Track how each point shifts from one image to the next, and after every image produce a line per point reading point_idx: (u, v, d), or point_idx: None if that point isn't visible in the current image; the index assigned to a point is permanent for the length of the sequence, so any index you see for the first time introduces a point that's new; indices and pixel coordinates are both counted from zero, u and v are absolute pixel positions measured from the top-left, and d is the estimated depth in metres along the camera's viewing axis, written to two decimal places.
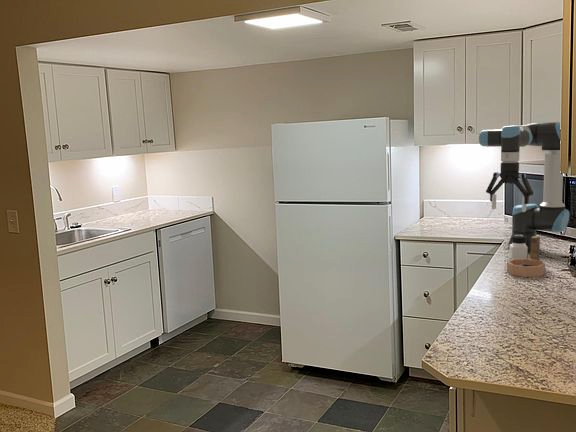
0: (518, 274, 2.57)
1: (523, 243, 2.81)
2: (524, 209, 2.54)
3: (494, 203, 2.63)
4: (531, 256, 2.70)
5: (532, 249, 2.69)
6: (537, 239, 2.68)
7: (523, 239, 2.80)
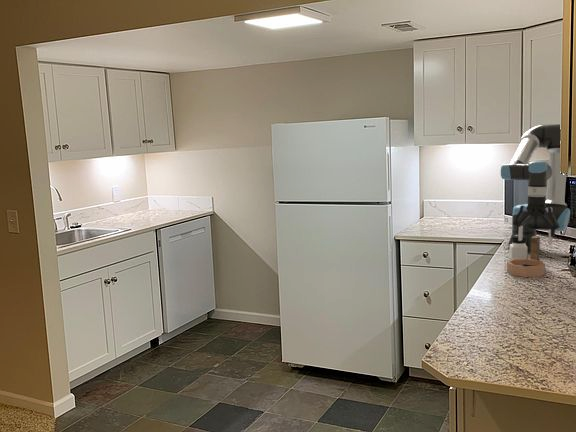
0: (518, 274, 2.57)
1: (523, 243, 2.81)
2: (550, 241, 2.64)
3: (520, 234, 2.73)
4: (531, 256, 2.70)
5: (532, 249, 2.69)
6: (537, 239, 2.68)
7: (523, 239, 2.80)
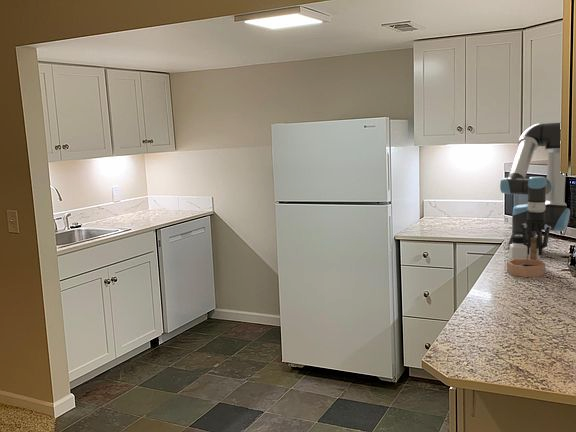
0: (518, 274, 2.57)
1: None
2: None
3: None
4: (531, 256, 2.70)
5: (532, 249, 2.69)
6: (537, 239, 2.68)
7: None
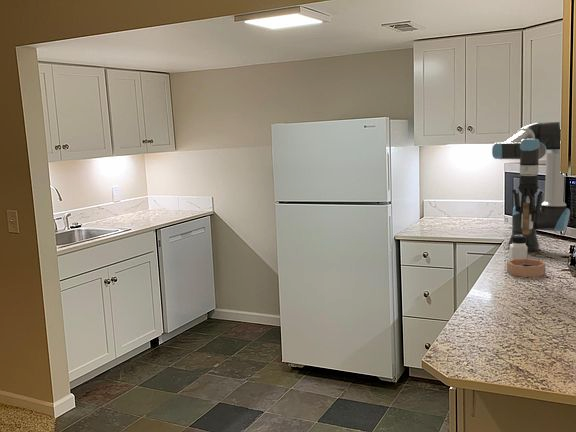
0: (518, 274, 2.57)
1: (523, 243, 2.81)
2: (531, 226, 2.57)
3: None
4: (524, 223, 2.58)
5: (524, 215, 2.57)
6: (529, 204, 2.56)
7: (523, 239, 2.80)
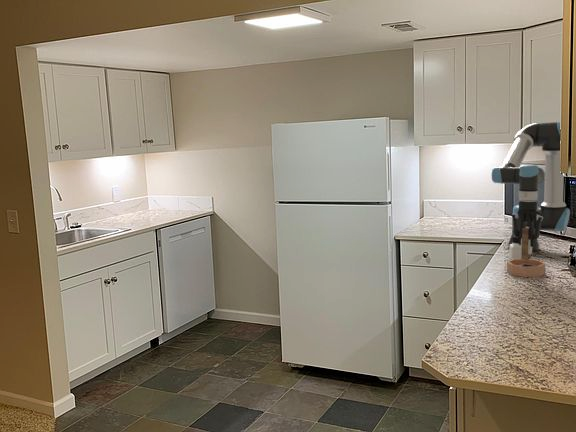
0: (518, 274, 2.57)
1: None
2: (530, 251, 2.59)
3: None
4: (523, 248, 2.59)
5: (523, 240, 2.59)
6: None
7: None
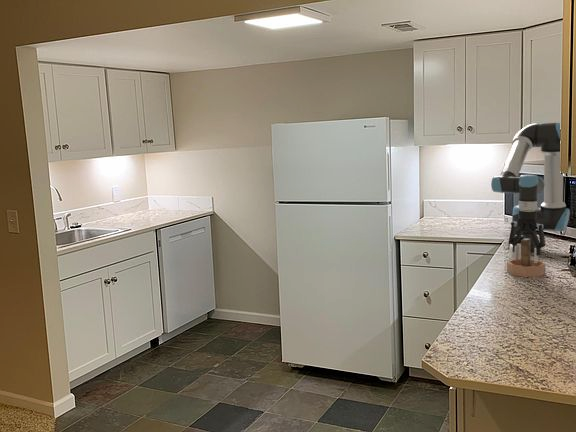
0: (518, 274, 2.57)
1: None
2: (536, 260, 2.58)
3: (517, 254, 2.64)
4: (522, 259, 2.60)
5: (523, 252, 2.60)
6: (527, 241, 2.59)
7: None
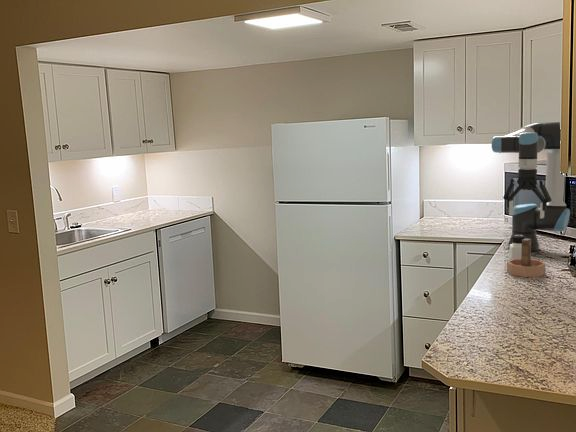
0: (518, 274, 2.57)
1: None
2: (542, 215, 2.55)
3: (511, 209, 2.64)
4: (522, 260, 2.60)
5: (523, 252, 2.60)
6: (528, 242, 2.59)
7: None
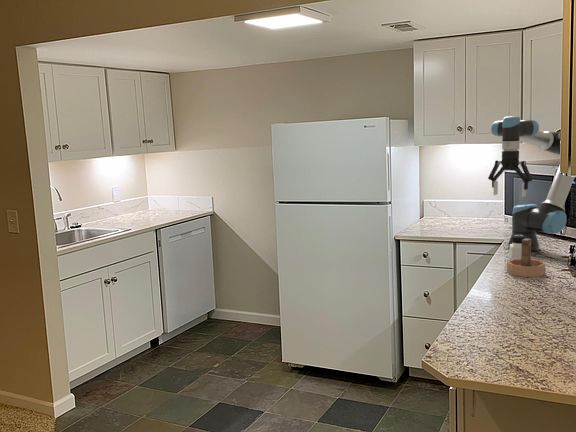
0: (518, 274, 2.57)
1: None
2: (524, 194, 2.73)
3: (496, 189, 2.82)
4: (522, 260, 2.60)
5: (523, 252, 2.60)
6: (528, 242, 2.59)
7: None
